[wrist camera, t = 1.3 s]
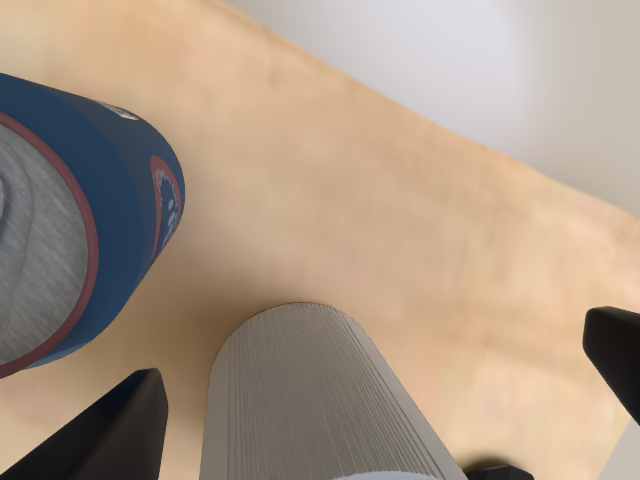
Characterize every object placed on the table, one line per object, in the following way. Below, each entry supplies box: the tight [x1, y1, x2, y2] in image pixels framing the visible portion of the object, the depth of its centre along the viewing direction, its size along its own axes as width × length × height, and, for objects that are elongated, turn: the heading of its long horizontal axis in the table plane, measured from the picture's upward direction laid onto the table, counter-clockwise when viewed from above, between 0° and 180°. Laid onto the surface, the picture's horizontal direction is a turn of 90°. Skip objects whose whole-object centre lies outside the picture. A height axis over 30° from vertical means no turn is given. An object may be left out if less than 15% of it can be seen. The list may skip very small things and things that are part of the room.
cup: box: [199, 302, 468, 480], centre depth 18 cm, size 9×9×12 cm
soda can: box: [0, 73, 185, 379], centre depth 14 cm, size 7×7×12 cm
